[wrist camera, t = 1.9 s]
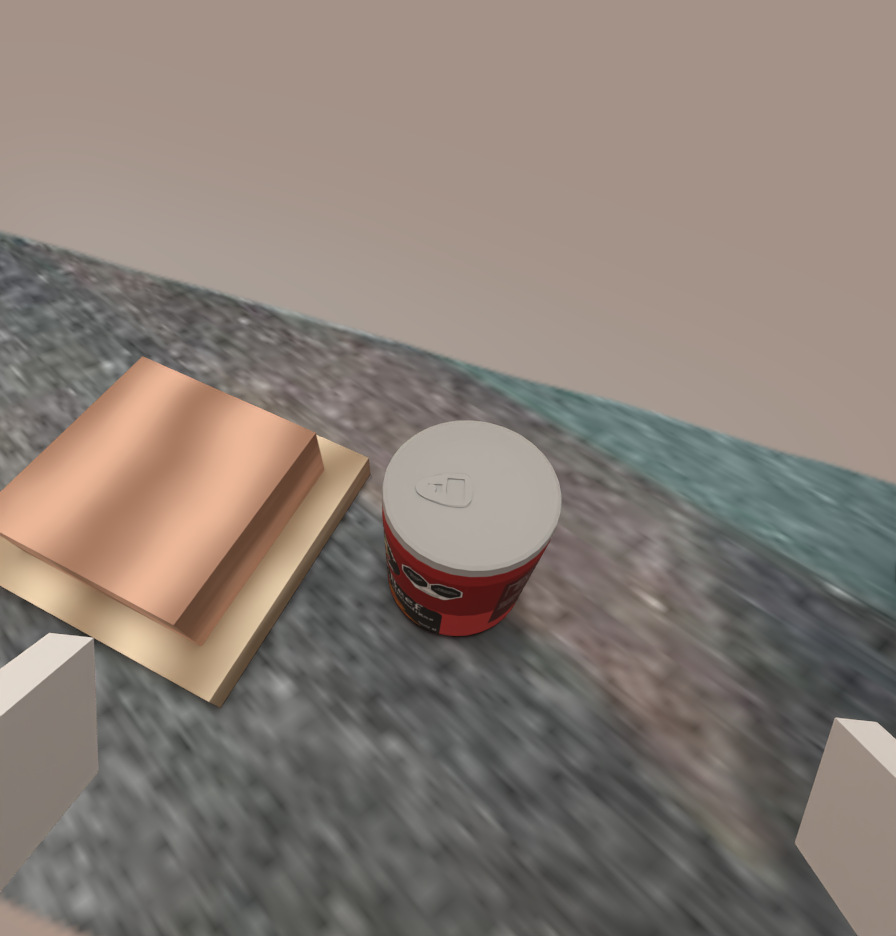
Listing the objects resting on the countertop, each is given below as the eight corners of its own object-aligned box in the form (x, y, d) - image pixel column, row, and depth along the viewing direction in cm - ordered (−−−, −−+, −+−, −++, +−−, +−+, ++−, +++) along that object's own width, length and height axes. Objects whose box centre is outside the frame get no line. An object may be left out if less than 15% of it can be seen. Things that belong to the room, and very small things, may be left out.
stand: (370, 473, 37) (364, 420, 32) (220, 707, 29) (180, 687, 24) (173, 385, 40) (138, 323, 34) (-13, 577, 32) (-94, 534, 27)
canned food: (377, 532, 35) (367, 432, 25) (499, 509, 36) (531, 406, 27) (401, 654, 31) (399, 590, 22) (535, 623, 32) (588, 550, 23)
